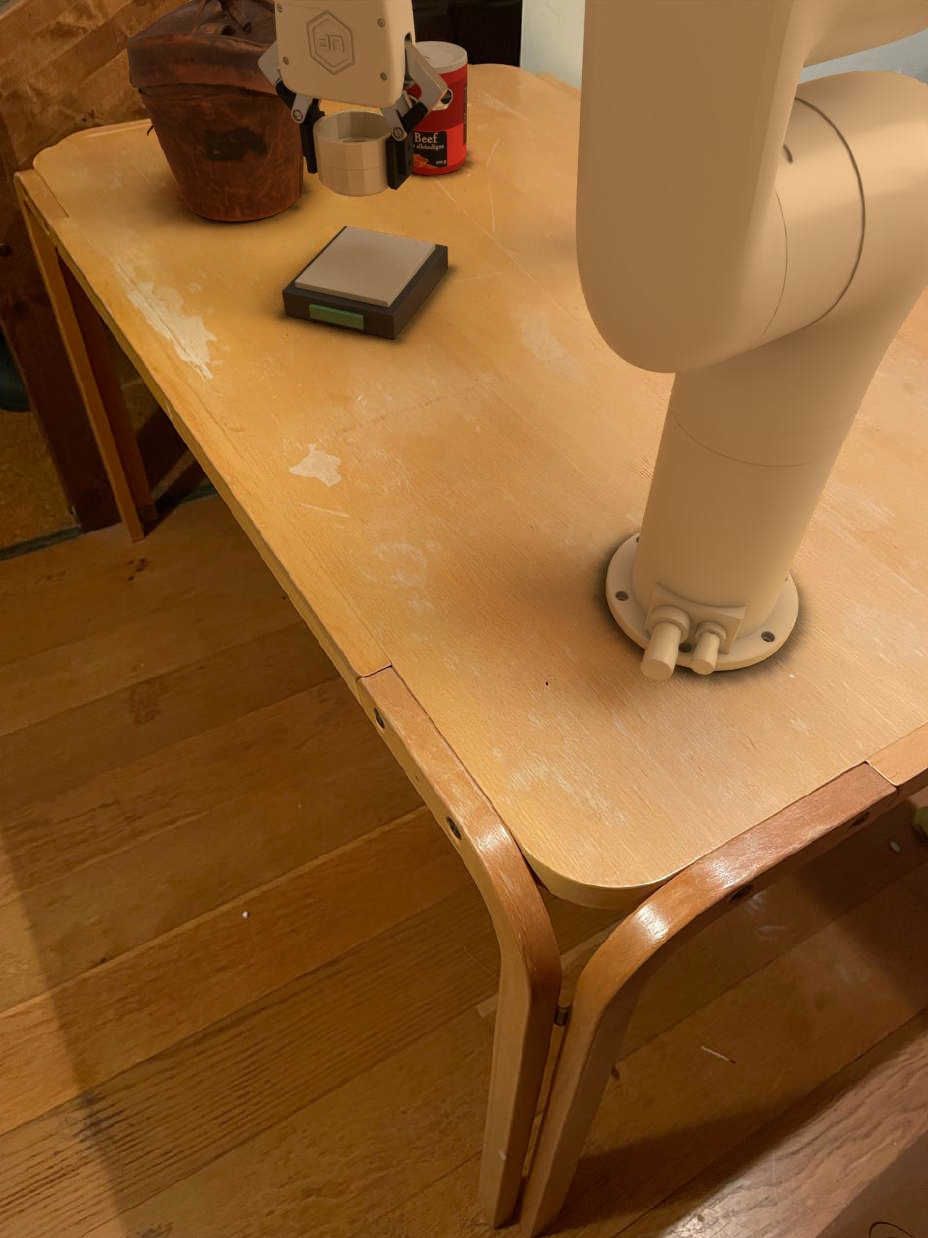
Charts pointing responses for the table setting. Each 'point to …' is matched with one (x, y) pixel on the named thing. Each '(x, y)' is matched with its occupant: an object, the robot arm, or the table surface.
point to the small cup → (352, 152)
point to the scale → (366, 281)
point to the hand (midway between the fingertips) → (358, 173)
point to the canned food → (442, 112)
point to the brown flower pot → (219, 108)
